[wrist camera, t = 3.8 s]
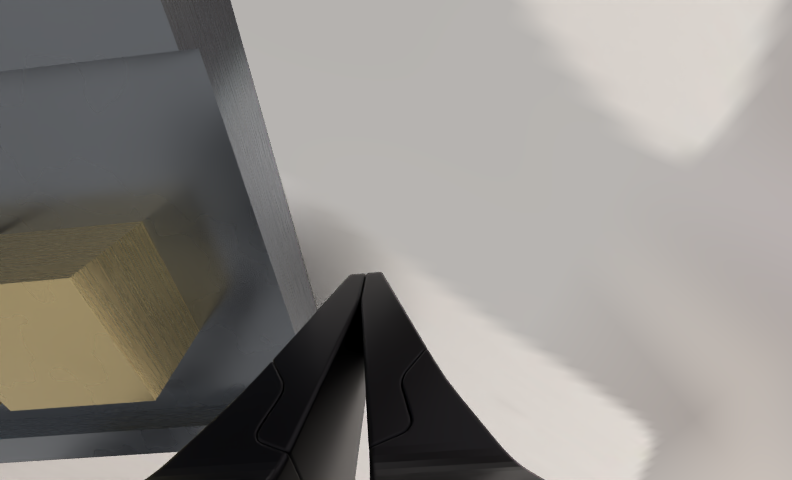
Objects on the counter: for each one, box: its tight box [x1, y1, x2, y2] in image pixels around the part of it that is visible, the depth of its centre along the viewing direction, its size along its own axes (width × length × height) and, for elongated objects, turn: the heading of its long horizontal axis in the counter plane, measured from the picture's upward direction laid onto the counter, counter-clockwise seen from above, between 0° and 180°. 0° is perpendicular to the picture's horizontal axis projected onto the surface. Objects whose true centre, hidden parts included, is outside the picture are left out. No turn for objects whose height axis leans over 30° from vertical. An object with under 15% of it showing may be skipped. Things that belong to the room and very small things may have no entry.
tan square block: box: [0, 221, 200, 411], centre depth 10 cm, size 4×4×2 cm
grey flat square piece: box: [0, 0, 317, 463], centre depth 11 cm, size 14×14×3 cm
